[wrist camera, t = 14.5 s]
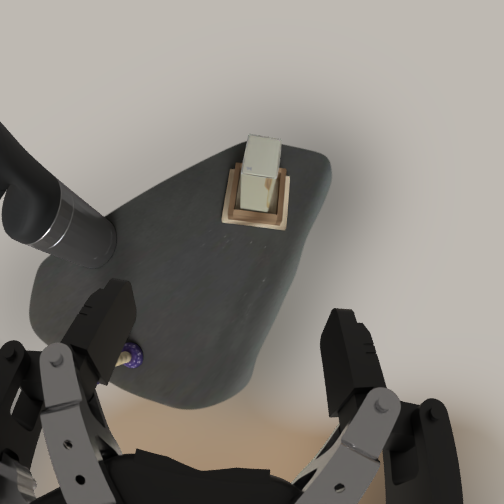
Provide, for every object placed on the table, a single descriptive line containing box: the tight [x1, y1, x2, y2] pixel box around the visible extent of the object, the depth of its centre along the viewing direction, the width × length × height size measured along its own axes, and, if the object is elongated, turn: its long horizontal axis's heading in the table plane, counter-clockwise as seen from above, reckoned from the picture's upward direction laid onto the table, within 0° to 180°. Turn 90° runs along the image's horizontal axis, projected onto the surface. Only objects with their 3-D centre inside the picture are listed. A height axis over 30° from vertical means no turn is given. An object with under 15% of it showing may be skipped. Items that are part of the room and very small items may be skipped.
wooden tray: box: [222, 163, 290, 230], centre depth 42 cm, size 10×9×4 cm
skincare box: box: [240, 134, 281, 213], centre depth 37 cm, size 6×4×12 cm
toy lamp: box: [97, 342, 143, 384], centre depth 30 cm, size 5×5×17 cm
